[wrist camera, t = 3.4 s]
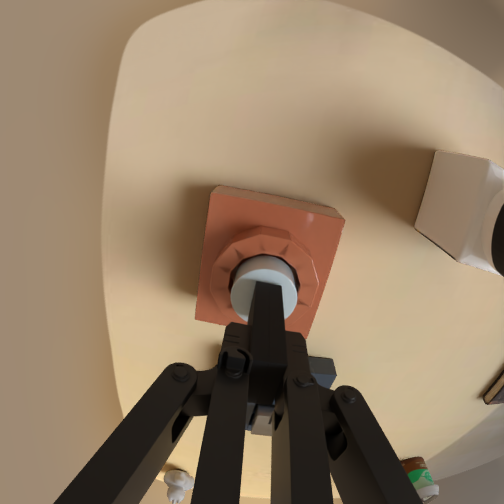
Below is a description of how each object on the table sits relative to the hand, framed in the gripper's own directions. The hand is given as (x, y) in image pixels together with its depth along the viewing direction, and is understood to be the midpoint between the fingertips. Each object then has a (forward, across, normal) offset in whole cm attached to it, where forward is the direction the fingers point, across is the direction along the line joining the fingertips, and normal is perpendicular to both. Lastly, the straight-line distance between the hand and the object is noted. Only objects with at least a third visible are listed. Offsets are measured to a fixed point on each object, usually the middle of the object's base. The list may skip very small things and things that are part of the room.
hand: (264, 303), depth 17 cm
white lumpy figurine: (+7, -6, -44) cm, 45 cm away
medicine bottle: (+7, +15, +9) cm, 19 cm away
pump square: (+3, +4, -15) cm, 16 cm away
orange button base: (+7, 0, 0) cm, 7 cm away
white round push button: (+2, 0, 0) cm, 2 cm away
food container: (+7, +38, -37) cm, 53 cm away
